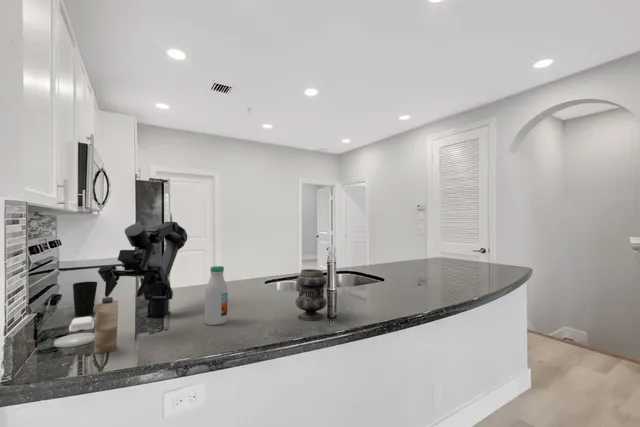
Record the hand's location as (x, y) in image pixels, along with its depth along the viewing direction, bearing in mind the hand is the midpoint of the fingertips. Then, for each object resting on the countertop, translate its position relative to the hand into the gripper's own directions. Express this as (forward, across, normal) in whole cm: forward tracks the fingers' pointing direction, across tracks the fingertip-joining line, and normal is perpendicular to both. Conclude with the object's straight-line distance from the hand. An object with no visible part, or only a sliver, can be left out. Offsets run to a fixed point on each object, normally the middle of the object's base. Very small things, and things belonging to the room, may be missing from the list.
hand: (121, 296), depth 95 cm
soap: (0, -20, +19) cm, 28 cm away
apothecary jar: (-6, +59, +25) cm, 64 cm away
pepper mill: (+14, 0, +4) cm, 15 cm away
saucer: (+9, -12, +9) cm, 18 cm away
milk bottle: (-2, +24, +21) cm, 32 cm away
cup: (-11, -29, +30) cm, 43 cm away
